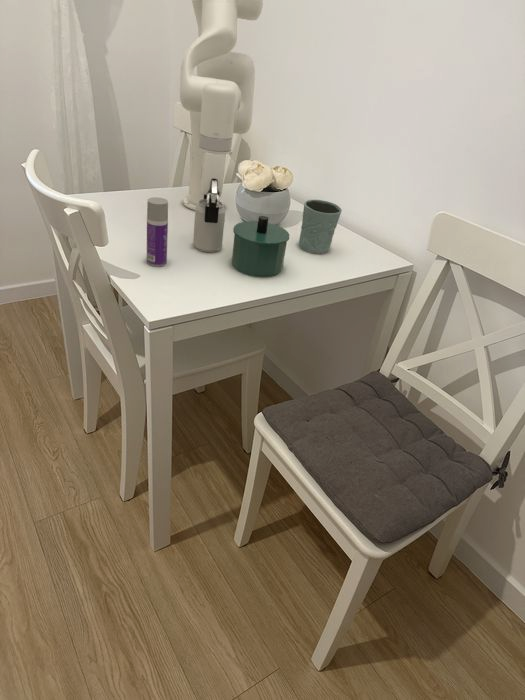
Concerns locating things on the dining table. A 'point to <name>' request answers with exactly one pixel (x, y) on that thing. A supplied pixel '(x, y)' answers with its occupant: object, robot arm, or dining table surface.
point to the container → (157, 231)
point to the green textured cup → (318, 226)
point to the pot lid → (261, 232)
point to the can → (208, 229)
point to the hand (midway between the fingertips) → (210, 215)
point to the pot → (257, 258)
